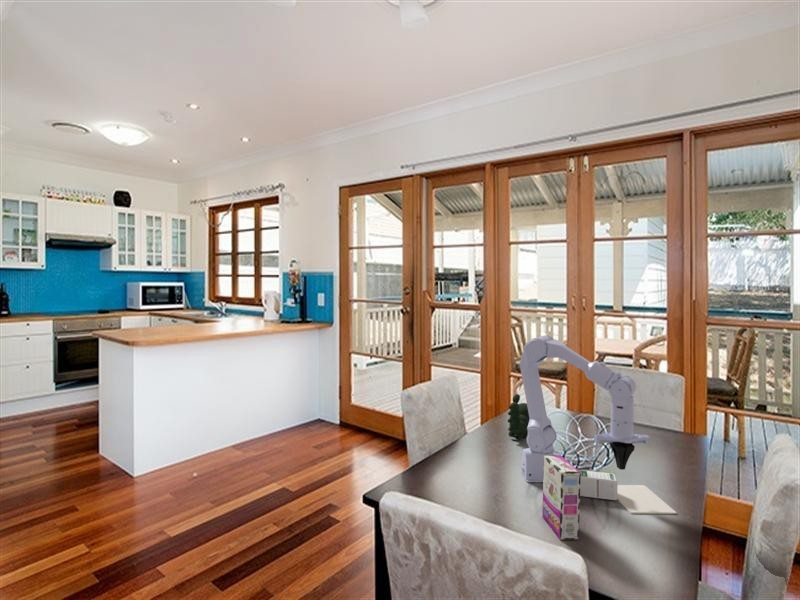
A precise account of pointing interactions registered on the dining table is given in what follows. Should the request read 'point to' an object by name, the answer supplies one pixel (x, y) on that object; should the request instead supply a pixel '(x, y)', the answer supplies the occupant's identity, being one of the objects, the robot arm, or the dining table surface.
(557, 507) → the candy bar box
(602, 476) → the syrup box
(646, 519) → the dining table surface
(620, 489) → the cream white mat
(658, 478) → the dining table surface
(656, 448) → the dining table surface
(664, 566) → the dining table surface
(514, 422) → the dark green lumpy piece
